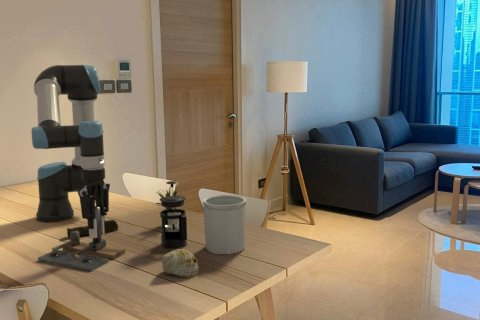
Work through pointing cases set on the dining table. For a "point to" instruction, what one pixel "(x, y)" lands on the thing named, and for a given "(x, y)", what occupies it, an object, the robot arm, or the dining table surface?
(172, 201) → the french press
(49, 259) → the bolt plate
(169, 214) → the house plant
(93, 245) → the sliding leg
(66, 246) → the grey lever handle base
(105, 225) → the hand tool
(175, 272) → the seashell
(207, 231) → the utensil holder
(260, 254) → the dining table surface
